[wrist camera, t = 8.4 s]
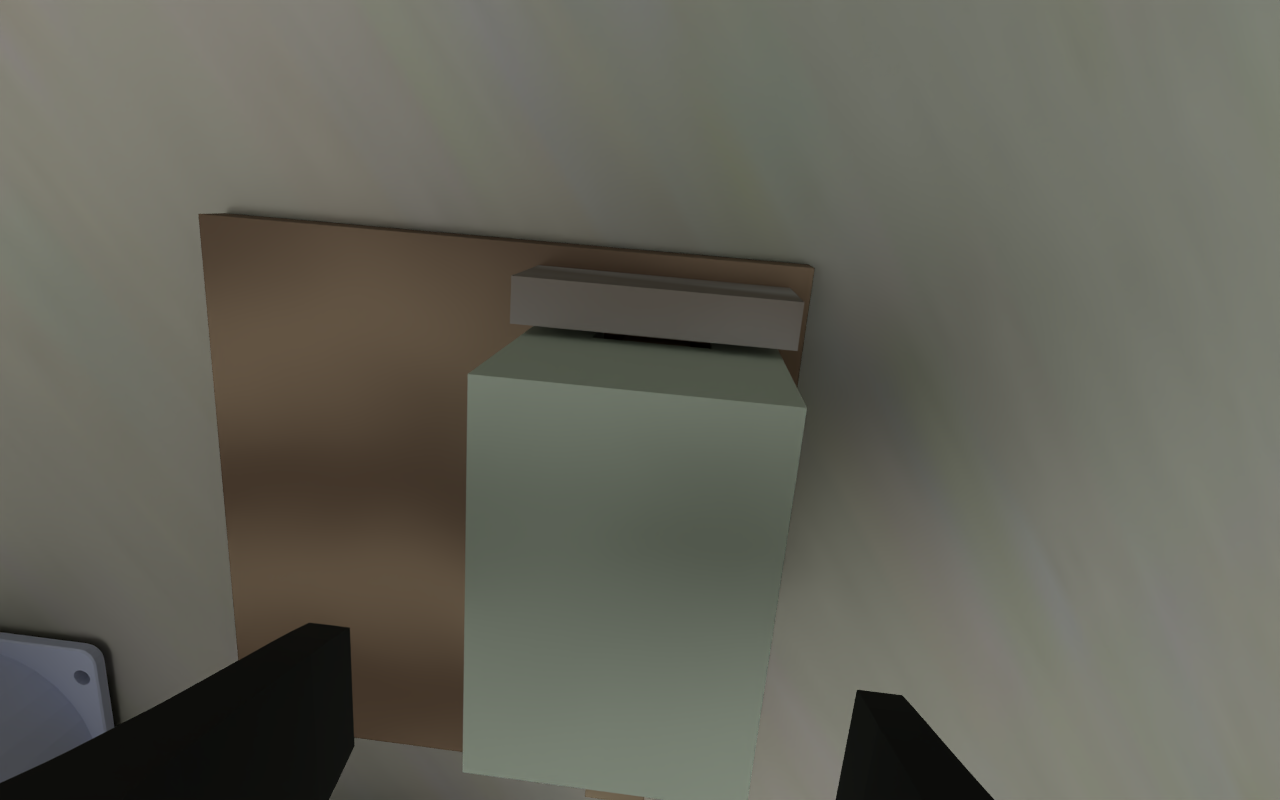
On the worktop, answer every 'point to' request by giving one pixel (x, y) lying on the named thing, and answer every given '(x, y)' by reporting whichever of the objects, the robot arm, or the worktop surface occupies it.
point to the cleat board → (410, 418)
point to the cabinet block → (624, 560)
